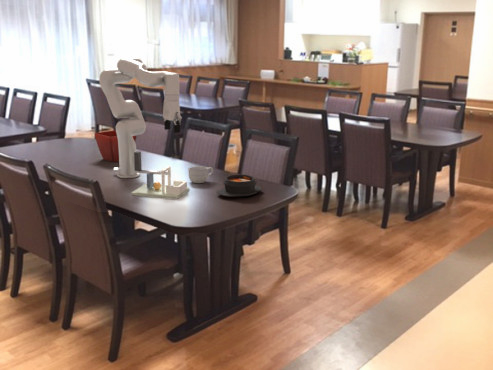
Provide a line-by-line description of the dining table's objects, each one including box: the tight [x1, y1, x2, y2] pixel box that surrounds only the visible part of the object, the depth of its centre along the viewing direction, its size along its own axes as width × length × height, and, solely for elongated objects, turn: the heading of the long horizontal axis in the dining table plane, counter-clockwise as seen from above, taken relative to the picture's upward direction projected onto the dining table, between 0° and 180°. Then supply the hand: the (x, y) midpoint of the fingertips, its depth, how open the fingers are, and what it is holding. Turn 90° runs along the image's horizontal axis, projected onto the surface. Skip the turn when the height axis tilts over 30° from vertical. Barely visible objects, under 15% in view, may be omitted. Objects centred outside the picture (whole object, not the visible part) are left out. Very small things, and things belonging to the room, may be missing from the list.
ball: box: [153, 181, 162, 190], centre depth 288 cm, size 4×4×4 cm
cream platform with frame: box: [131, 166, 190, 200], centre depth 286 cm, size 24×18×13 cm
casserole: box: [216, 174, 263, 198], centre depth 286 cm, size 25×19×8 cm
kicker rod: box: [134, 150, 170, 189], centre depth 286 cm, size 18×5×18 cm, turn 76°
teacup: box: [187, 165, 214, 184], centre depth 307 cm, size 14×11×8 cm
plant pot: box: [94, 129, 137, 163], centre depth 355 cm, size 19×19×17 cm
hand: (172, 131), depth 292 cm, fingers open, 9 cm apart
